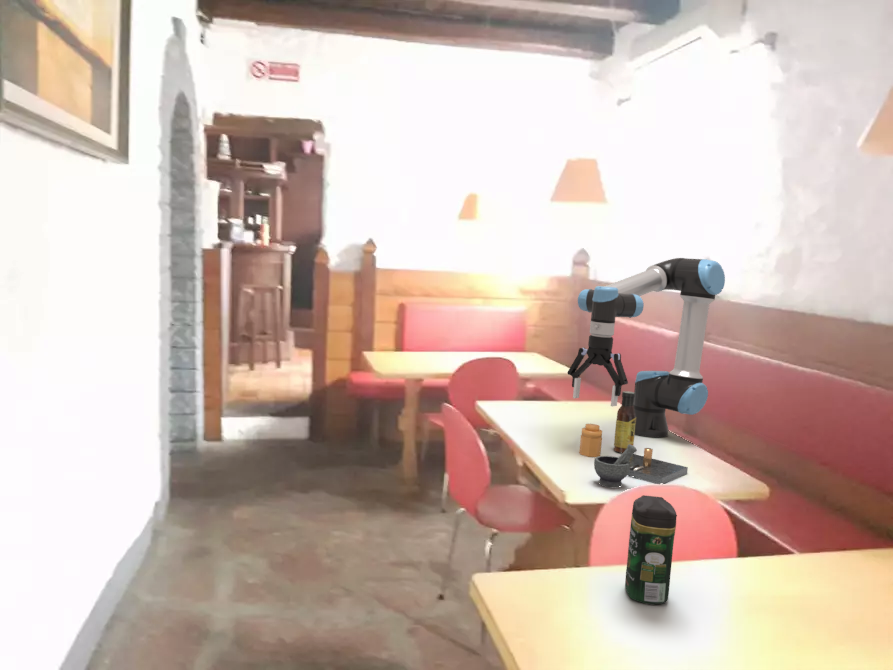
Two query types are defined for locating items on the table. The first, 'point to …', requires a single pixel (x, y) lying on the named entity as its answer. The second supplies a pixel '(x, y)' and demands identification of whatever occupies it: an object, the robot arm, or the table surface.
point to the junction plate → (654, 468)
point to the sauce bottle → (625, 423)
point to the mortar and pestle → (613, 467)
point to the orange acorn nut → (591, 441)
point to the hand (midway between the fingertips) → (594, 401)
